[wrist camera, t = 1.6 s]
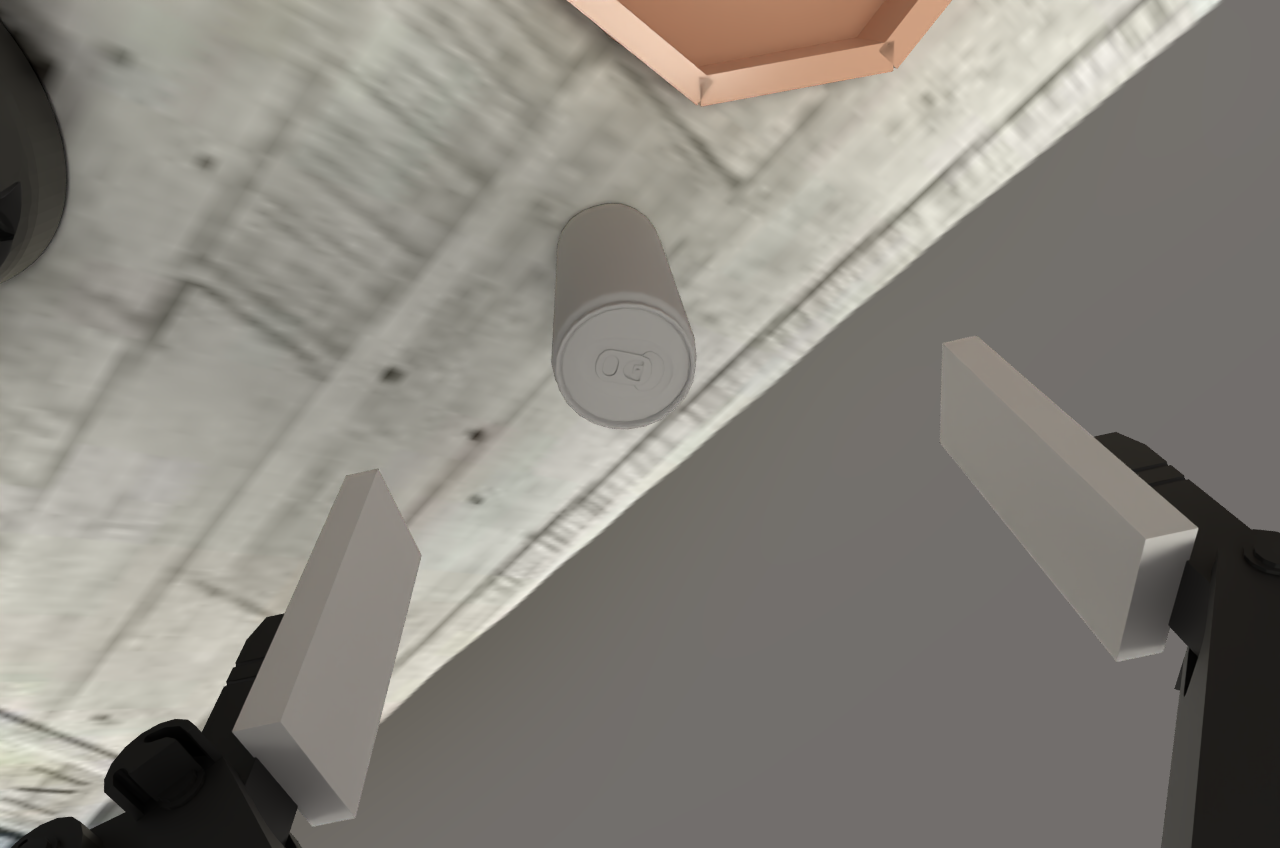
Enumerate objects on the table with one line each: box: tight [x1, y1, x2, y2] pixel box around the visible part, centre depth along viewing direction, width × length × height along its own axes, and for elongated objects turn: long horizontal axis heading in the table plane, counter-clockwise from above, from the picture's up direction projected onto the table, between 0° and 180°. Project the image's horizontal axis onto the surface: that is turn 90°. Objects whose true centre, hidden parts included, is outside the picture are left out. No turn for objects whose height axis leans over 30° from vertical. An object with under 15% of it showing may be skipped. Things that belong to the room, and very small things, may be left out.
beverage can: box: [551, 204, 696, 429], centre depth 28 cm, size 5×5×12 cm
